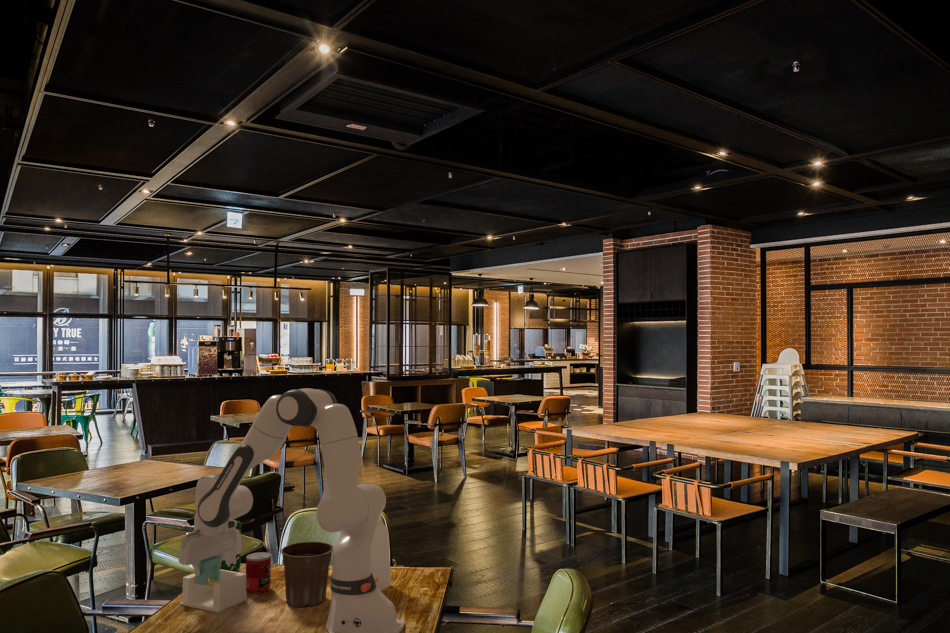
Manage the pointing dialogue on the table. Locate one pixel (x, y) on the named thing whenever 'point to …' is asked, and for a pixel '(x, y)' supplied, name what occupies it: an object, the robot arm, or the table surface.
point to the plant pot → (306, 572)
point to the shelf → (215, 591)
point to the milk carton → (233, 554)
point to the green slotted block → (209, 570)
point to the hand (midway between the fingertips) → (208, 571)
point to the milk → (381, 557)
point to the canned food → (258, 572)
